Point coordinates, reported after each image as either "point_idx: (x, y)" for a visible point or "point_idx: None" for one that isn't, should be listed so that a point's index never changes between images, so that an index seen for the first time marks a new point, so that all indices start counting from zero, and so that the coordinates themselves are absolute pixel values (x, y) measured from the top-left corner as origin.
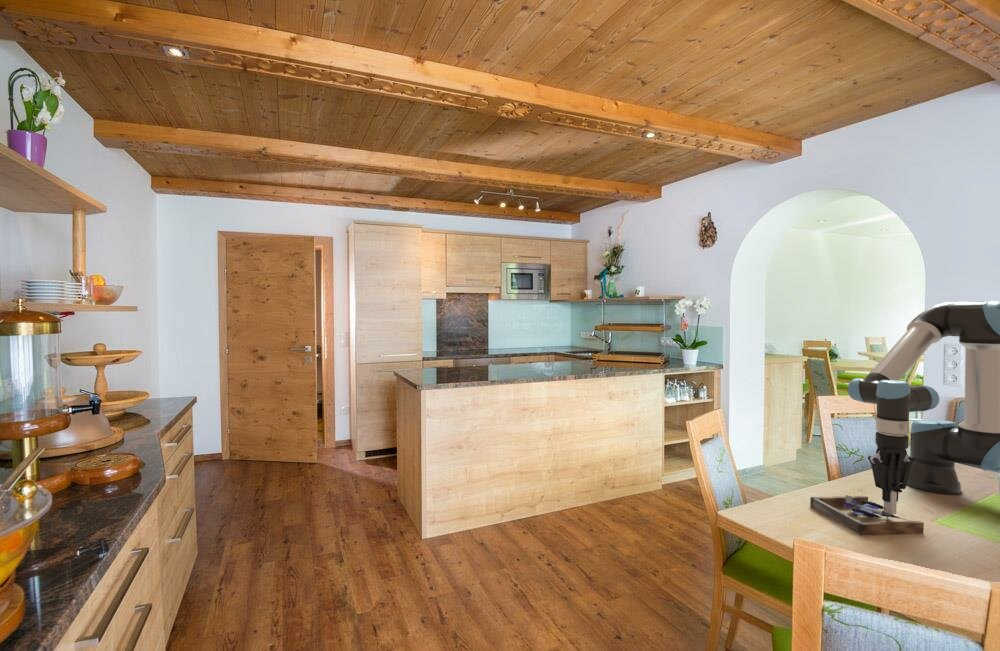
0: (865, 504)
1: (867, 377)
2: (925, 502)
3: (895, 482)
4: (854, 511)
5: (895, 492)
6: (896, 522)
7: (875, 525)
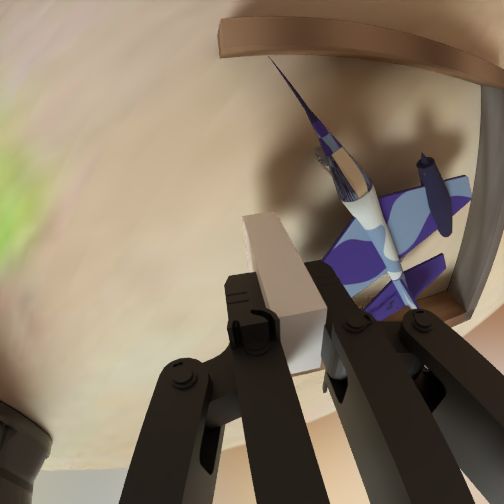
0: (350, 295)
1: None
2: (25, 368)
3: (303, 417)
4: (457, 211)
5: (289, 312)
6: (402, 45)
7: (486, 62)
